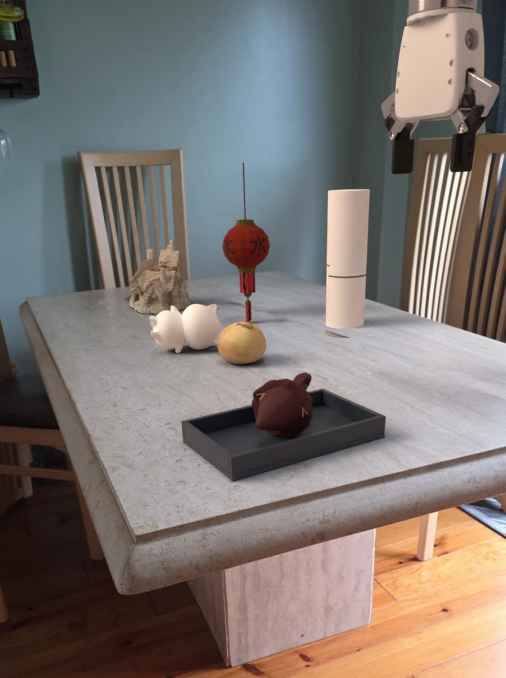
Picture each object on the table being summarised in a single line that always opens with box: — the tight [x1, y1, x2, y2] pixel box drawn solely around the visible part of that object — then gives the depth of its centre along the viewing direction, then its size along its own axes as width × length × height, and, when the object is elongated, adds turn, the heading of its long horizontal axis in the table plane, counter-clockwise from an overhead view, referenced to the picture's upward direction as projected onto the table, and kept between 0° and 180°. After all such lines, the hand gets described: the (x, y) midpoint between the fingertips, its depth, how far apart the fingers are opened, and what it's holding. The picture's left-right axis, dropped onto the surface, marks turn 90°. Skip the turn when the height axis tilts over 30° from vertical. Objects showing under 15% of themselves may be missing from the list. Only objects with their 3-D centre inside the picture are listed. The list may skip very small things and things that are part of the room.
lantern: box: [221, 162, 271, 324], centre depth 122 cm, size 10×10×30 cm
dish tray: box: [180, 387, 387, 482], centre depth 72 cm, size 12×20×3 cm, turn 120°
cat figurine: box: [149, 303, 221, 354], centre depth 110 cm, size 9×11×12 cm
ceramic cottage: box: [128, 239, 192, 315], centre depth 143 cm, size 16×16×15 cm
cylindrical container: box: [325, 188, 371, 339], centre depth 113 cm, size 7×7×25 cm
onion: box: [217, 319, 267, 365], centre depth 101 cm, size 8×8×7 cm
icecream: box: [251, 371, 314, 438], centre depth 71 cm, size 7×7×15 cm
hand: (429, 172), depth 77 cm, fingers open, 9 cm apart
